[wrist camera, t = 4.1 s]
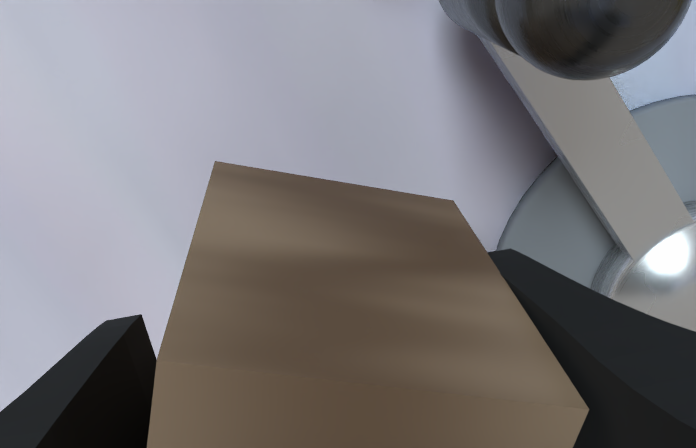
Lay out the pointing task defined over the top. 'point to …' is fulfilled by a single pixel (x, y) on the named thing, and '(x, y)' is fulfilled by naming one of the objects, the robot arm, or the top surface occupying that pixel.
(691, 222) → the crank
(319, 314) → the brown wooden block
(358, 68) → the top surface
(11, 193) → the top surface
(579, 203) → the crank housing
